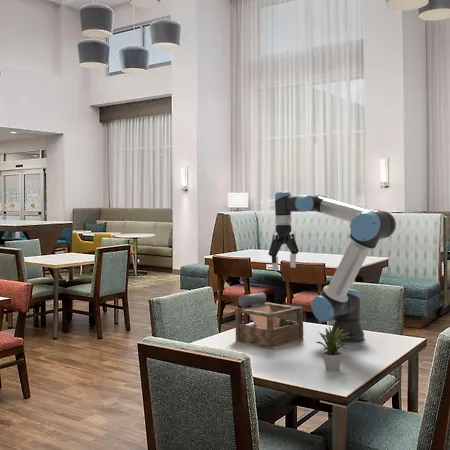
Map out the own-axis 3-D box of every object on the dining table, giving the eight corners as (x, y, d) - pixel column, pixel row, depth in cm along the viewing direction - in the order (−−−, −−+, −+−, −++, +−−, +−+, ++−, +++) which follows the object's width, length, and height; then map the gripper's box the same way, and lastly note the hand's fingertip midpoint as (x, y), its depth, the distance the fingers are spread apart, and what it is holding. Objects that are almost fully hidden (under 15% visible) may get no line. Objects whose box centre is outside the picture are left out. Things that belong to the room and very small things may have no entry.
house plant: (345, 378, 200) (344, 332, 199) (308, 373, 207) (307, 329, 206) (356, 367, 212) (355, 324, 212) (321, 363, 219) (320, 321, 218)
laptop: (299, 325, 290) (299, 300, 290) (302, 330, 278) (302, 304, 277) (265, 325, 291) (264, 300, 290) (266, 331, 278) (265, 305, 278)
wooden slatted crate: (303, 339, 257) (302, 307, 256) (270, 349, 242) (270, 314, 242) (268, 332, 273) (267, 302, 273) (235, 340, 258) (235, 308, 258)
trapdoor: (281, 333, 262) (287, 327, 259) (259, 339, 252) (265, 332, 249) (257, 296, 272) (263, 290, 270) (235, 300, 262) (240, 293, 260)
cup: (273, 332, 252) (279, 316, 255) (274, 336, 259) (280, 321, 262) (289, 337, 250) (295, 321, 253) (289, 342, 257) (295, 326, 259)
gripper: (293, 223, 278) (293, 265, 279) (260, 225, 260) (261, 270, 261) (305, 223, 273) (306, 266, 273) (272, 225, 255) (273, 271, 256)
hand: (284, 268), depth 267 cm, fingers open, 13 cm apart
